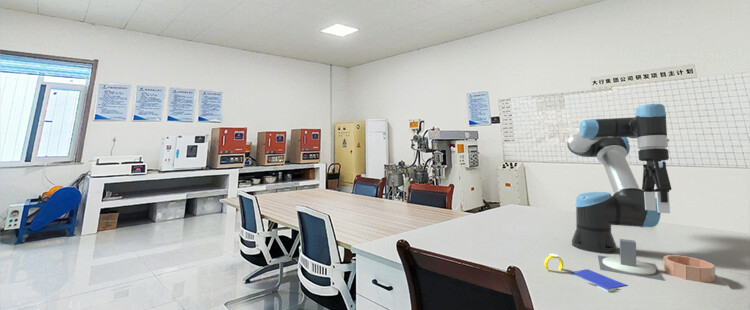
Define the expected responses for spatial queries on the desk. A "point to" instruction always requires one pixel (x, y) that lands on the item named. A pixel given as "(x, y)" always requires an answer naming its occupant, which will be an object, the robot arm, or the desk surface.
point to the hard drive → (599, 280)
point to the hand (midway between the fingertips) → (656, 211)
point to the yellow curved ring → (550, 258)
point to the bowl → (689, 268)
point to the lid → (628, 260)
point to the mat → (654, 276)
